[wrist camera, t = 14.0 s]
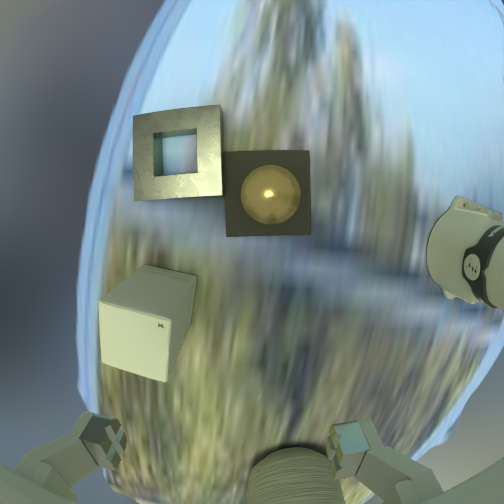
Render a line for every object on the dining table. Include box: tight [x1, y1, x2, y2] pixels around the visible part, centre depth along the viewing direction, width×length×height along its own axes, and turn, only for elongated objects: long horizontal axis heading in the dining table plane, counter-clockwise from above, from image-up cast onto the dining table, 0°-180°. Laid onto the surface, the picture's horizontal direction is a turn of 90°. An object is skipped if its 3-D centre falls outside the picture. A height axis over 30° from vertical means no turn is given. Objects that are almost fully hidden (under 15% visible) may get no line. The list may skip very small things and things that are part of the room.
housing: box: [133, 105, 225, 201], centre depth 36 cm, size 12×12×4 cm
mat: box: [223, 150, 311, 237], centre depth 39 cm, size 12×12×1 cm
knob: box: [241, 165, 301, 224], centre depth 33 cm, size 6×6×11 cm
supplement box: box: [99, 265, 197, 382], centre depth 35 cm, size 9×9×15 cm
